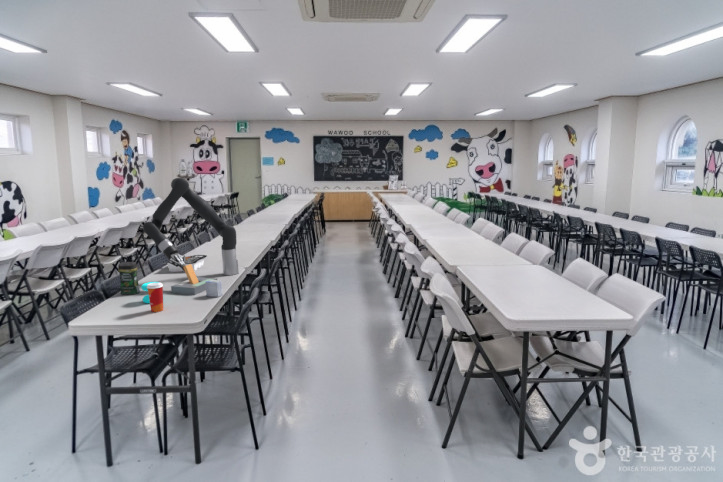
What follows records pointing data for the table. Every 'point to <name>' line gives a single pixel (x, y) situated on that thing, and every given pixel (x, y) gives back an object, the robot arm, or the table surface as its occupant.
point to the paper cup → (155, 296)
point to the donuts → (144, 287)
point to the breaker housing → (191, 286)
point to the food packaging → (193, 260)
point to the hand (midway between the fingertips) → (186, 270)
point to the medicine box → (214, 288)
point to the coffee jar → (128, 278)
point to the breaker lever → (190, 274)
